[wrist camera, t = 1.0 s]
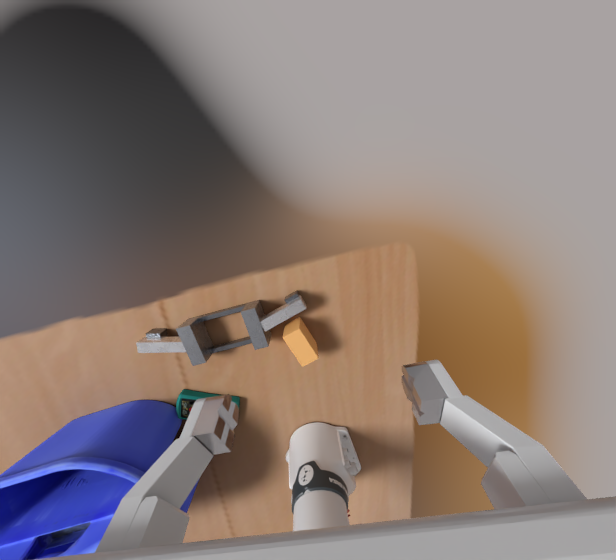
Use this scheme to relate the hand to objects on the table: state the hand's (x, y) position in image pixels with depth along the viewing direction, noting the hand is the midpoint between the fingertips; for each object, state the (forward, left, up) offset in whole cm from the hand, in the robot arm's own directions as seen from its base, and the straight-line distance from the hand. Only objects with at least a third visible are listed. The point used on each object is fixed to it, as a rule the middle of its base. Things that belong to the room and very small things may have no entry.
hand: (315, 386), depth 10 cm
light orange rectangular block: (-15, +10, -38) cm, 42 cm away
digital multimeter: (-20, +40, -38) cm, 58 cm away
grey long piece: (-5, +23, -38) cm, 44 cm away
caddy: (-21, +66, -38) cm, 79 cm away
